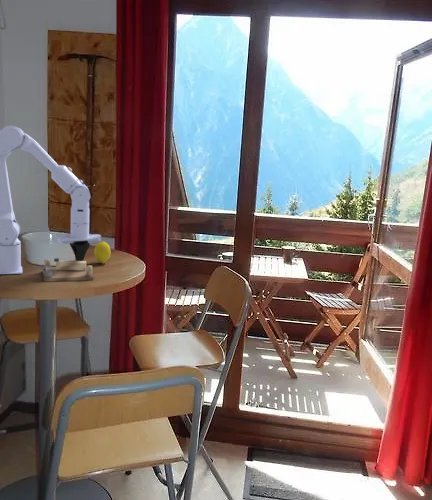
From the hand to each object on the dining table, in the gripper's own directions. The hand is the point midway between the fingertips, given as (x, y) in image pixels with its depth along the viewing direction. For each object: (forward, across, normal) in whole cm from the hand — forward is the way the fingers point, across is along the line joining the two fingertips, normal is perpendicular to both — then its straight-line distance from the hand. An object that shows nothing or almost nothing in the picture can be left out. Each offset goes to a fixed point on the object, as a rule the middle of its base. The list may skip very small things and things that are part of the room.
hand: (79, 264), depth 157 cm
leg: (+1, +4, 0) cm, 4 cm away
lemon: (+2, -12, -5) cm, 13 cm away
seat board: (+2, +6, +3) cm, 7 cm away
